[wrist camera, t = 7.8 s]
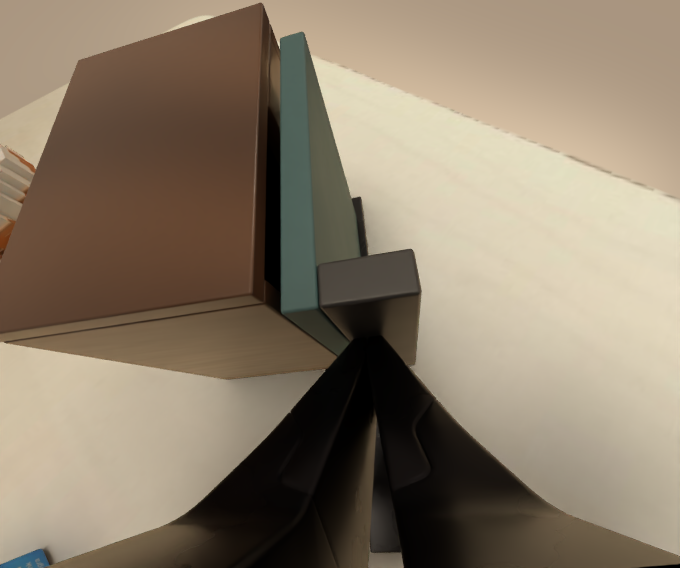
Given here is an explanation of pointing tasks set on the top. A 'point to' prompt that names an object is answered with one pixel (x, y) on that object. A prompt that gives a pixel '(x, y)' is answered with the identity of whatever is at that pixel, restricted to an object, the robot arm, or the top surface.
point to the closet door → (332, 231)
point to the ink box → (28, 561)
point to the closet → (169, 219)
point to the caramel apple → (12, 190)
